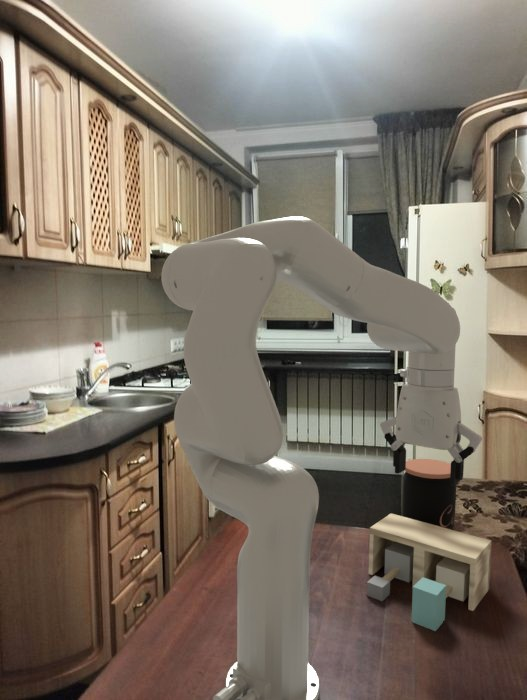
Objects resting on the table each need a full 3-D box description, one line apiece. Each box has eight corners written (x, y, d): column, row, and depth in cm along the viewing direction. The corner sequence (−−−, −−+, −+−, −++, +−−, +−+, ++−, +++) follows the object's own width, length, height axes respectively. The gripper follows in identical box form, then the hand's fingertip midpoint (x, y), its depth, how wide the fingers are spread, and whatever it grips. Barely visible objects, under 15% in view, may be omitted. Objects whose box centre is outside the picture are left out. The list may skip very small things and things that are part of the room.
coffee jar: (446, 566, 108) (450, 477, 106) (393, 553, 113) (396, 468, 111) (458, 546, 117) (462, 463, 115) (409, 534, 122) (411, 455, 120)
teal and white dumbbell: (438, 632, 86) (440, 596, 86) (408, 620, 89) (409, 585, 89) (472, 589, 99) (474, 558, 99) (445, 580, 102) (446, 549, 102)
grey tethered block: (387, 603, 95) (388, 575, 94) (361, 593, 98) (362, 566, 97) (419, 572, 105) (420, 547, 105) (395, 564, 109) (396, 540, 108)
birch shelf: (473, 611, 92) (475, 558, 91) (368, 573, 105) (369, 527, 104) (489, 589, 99) (491, 540, 98) (389, 556, 112) (390, 513, 111)
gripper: (373, 376, 94) (370, 472, 96) (476, 386, 84) (471, 494, 86) (391, 371, 100) (388, 462, 102) (490, 381, 90) (485, 482, 92)
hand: (426, 477), depth 94 cm, fingers open, 9 cm apart
